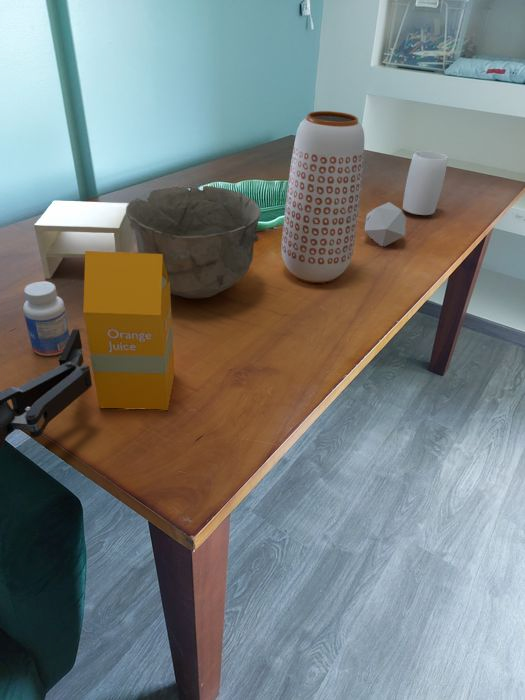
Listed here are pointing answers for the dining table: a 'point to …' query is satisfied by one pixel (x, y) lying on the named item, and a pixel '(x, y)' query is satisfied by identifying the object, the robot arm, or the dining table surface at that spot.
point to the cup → (424, 182)
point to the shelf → (82, 231)
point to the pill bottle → (45, 318)
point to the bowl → (197, 236)
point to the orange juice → (129, 329)
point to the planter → (323, 196)
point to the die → (385, 224)
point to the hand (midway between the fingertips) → (22, 337)
